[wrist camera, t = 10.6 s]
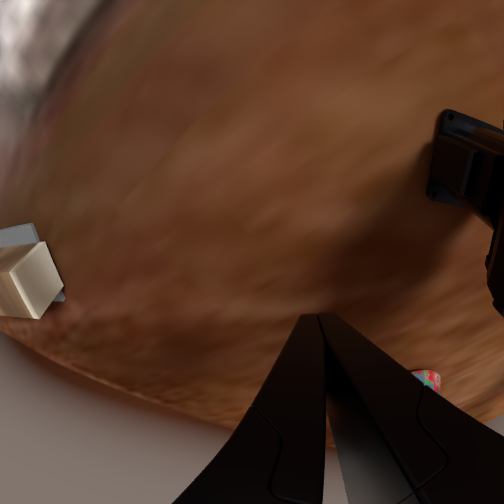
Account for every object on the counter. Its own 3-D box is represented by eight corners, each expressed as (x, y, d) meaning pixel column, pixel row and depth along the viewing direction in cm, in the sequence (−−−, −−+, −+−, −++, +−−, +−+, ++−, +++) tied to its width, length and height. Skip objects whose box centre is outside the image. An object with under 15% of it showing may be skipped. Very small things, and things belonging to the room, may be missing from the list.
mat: (32, 222, 21) (30, 224, 21) (65, 298, 25) (64, 301, 25) (-28, 236, 22) (-31, 238, 22) (1, 297, 26) (-1, 299, 26)
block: (14, 271, 18) (-42, 274, 18) (39, 318, 20) (-22, 312, 21) (44, 241, 21) (-16, 250, 22) (63, 285, 24) (1, 286, 25)
